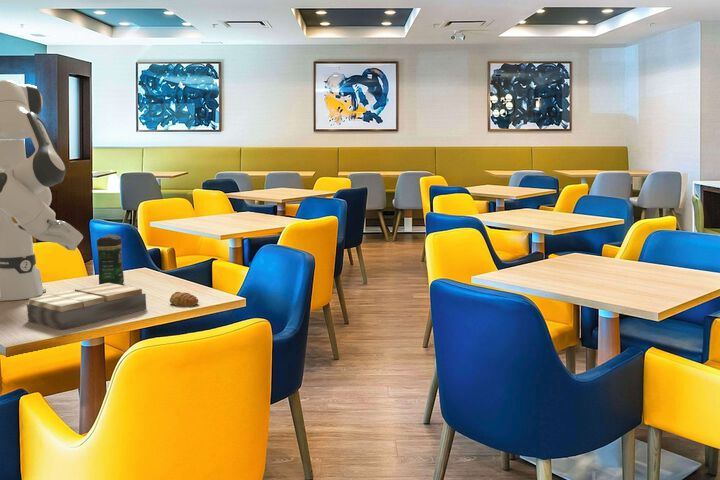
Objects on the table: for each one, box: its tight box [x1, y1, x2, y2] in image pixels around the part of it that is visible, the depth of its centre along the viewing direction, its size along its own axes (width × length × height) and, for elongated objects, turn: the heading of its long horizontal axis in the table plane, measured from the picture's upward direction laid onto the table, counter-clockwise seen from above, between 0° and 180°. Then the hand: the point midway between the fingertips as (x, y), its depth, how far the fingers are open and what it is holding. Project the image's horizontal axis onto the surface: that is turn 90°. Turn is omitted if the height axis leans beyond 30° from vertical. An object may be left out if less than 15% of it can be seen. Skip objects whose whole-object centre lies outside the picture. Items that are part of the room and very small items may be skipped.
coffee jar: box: [96, 234, 125, 285], centre depth 250 cm, size 10×8×19 cm
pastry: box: [169, 291, 199, 307], centre depth 220 cm, size 9×7×4 cm
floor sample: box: [26, 290, 147, 331], centre depth 208 cm, size 18×28×7 cm, turn 144°
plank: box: [74, 283, 143, 301], centre depth 213 cm, size 17×12×2 cm
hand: (72, 248), depth 205 cm, fingers closed
